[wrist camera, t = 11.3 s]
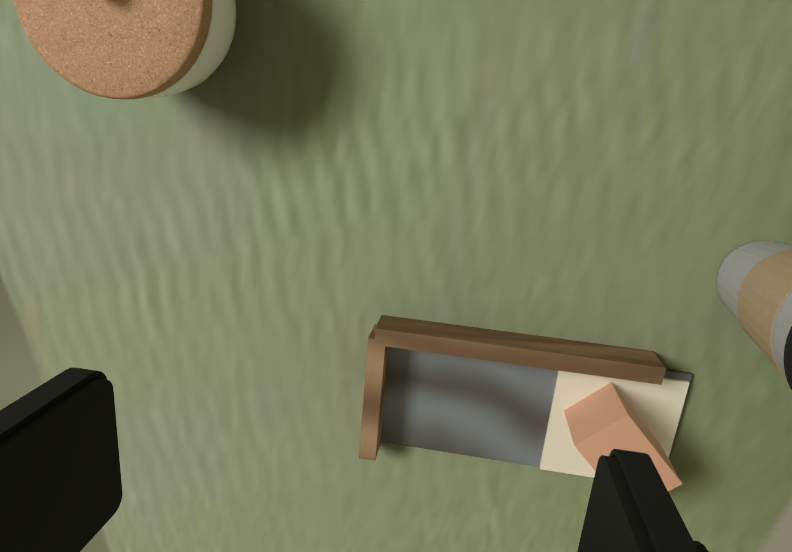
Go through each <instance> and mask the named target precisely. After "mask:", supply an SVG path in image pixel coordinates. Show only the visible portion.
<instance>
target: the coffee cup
mask: <svg viewBox="0 0 792 552" xmlns="http://www.w3.org/2000/svg"><path fill="white" fill-rule="evenodd" d="M717 289H718V293H719V296H720V298H721V300H722V302H723V303H724V304H725V306H726V307H727V308H728V309H729V310H730V311H731V312H732V314H733V315H734V316H735V317H736V318H737V319H738V320H739V321H740V323H741V325H742V327H743V329H744V331H745V332H746V333H747V334H748V335H749V336H750V338H751V339H752V340H753V341H754V342H755V343H756V344H757V345H758V347H759V348H760V349H761V350H762V351H763V352H764V353H765V355H766V356H767V357H768V358H769V359H770V360H771V361H772V363H773V364H774V365H775V366H776V367H777V368H778V369H779V370H780V372H781V373H782V374H783V375H784V376H785V377H786V378H787V381H788V383H789V386H790V388H791V390H792V245H789V244H785V243H780V242H774V241H758V242H752V243H749V244H745V245H743V246H741V247H739V248H737V249H735V250H734V251H733V252H731V253H730V254H729V255H728V256H727V257H726V258H725V259H724V261H723V263H722V265H721V267H720V269H719V272H718V278H717Z"/></svg>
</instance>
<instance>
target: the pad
mask: <svg viewBox="0 0 792 552" xmlns="http://www.w3.org/2000/svg"><path fill="white" fill-rule="evenodd" d="M610 382H612V384H613V385H614V386H615V387H616V389H617V390H618V391H619V392H620V394H621V395H622V396H623V398H624V399H625V400H626V401H627V403H628V404H629V405H630V406H631V408H632V409H633V410H634V412H635V413H636V414H637V415H638V417H639V418H640V419H641V420H642V422H643V423H644V424H645V426H646V427H647V428H648V429H649V431H650V432H651V433H652V434H653V436H654V437H655V438H656V440H657V441H658V442H659V443H660V445H661V446H662V448H663V450H664V452H665V453H666V455H667V457H668V459H669V455H670V452H671V448H672V444H673V441H674V437H675V434H676V430H677V426H678V423H679V419H680V416H681V412H682V408H683V405H684V401H685V398H686V394H687V390H688V387H689V381H684V380H677V379H670V378H663V382H662V385H658V384H651V383H644V382H637V381H630V380H623V379H616V378H608V377H601V376H594V375H587V374H580V373H573V372H565V371H558V375H557V380H556V386H555V391H554V396H553V401H552V406H551V411H550V416H549V422H548V427H547V432H546V437H545V442H544V447H543V452H542V458H541V463H540V469H543V470H549V471H555V472H561V473H568V474H574V475H580V476H586V477H593V478H594V476H595V470H594V469H593V468H592V467H591V465H590V464H589V463H588V462H587V461H586V459H585V458H584V457H583V456H582V454H581V453H580V452H579V451H578V449H577V448H576V447H575V446H574V443H573V440H572V436H571V433H570V430H569V426H568V423H567V420H566V416H565V413H564V410H565V409H567V408H569V407H570V406H572V405H574V404H575V403H577V402H579V401H580V400H582V399H584V398H585V397H587V396H589V395H590V394H592V393H594V392H595V391H597V390H599V389H600V388H602V387H604V386H605V385H607V384H609V383H610Z"/></svg>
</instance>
